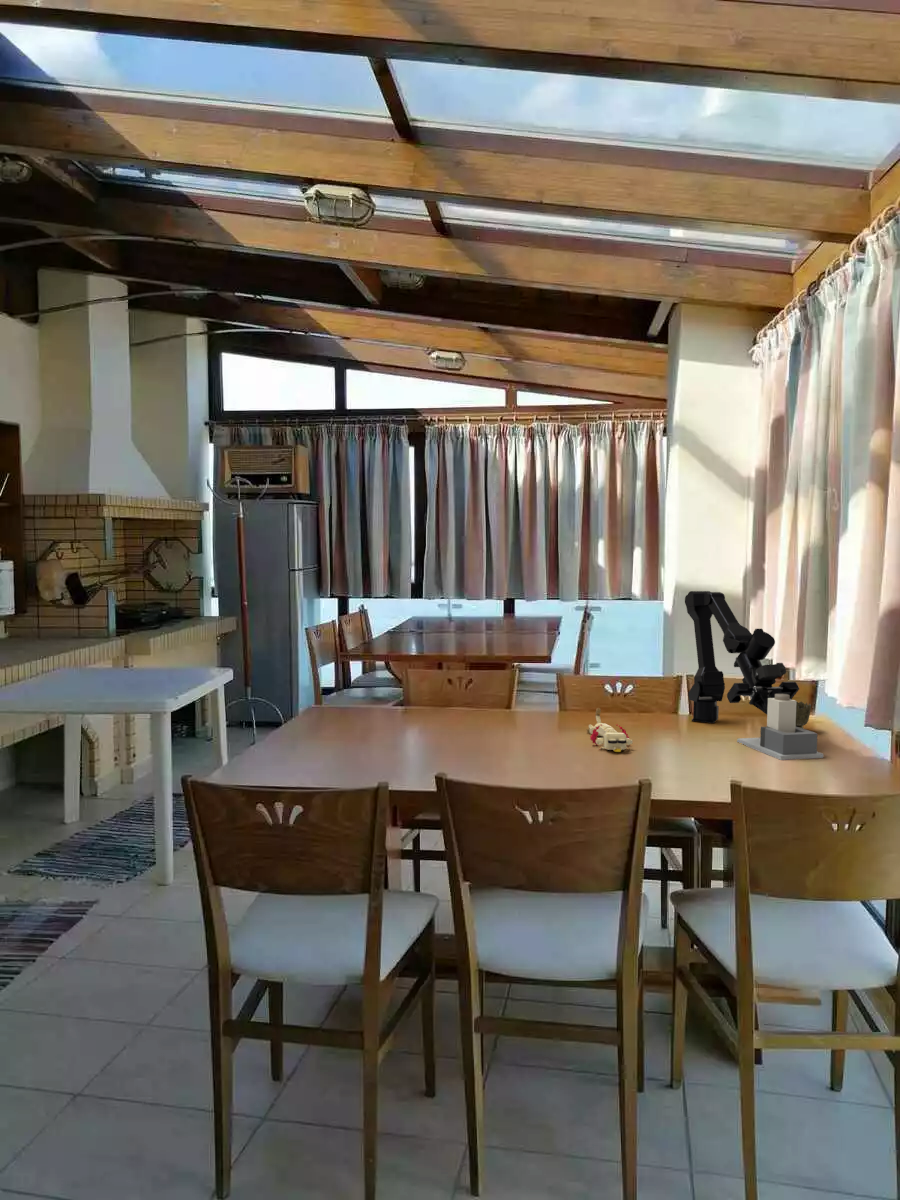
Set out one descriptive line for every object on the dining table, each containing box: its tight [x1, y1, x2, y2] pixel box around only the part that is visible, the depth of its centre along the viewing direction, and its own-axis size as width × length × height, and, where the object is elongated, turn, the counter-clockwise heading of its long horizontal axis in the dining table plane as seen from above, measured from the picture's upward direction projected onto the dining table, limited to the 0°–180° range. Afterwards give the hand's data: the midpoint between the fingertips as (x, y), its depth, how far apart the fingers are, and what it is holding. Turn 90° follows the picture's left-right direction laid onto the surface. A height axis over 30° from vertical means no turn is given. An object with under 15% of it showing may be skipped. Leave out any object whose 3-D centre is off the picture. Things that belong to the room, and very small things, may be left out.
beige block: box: [766, 694, 797, 733], centre depth 234 cm, size 5×5×13 cm
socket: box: [736, 726, 824, 761], centre depth 235 cm, size 20×12×6 cm, turn 13°
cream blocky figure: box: [586, 707, 633, 753], centre depth 240 cm, size 10×9×25 cm
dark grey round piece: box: [796, 701, 812, 729], centre depth 259 cm, size 8×7×8 cm
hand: (775, 718), depth 236 cm, fingers closed, pressing on beige block
